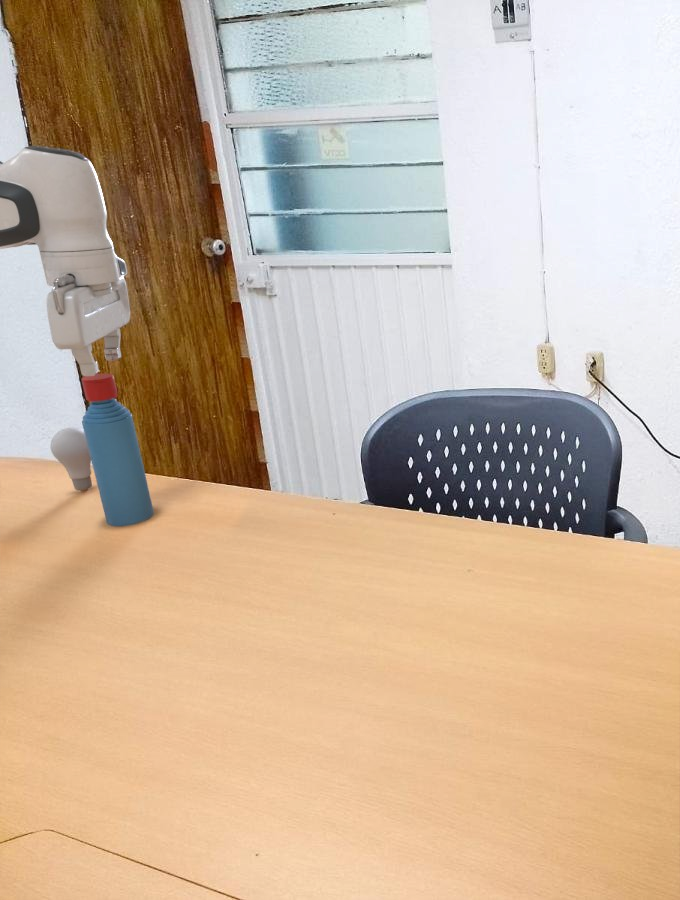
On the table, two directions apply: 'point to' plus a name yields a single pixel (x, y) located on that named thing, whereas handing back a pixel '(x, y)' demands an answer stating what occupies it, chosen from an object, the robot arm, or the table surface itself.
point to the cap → (99, 387)
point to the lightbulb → (73, 456)
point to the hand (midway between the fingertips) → (102, 367)
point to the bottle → (117, 463)
